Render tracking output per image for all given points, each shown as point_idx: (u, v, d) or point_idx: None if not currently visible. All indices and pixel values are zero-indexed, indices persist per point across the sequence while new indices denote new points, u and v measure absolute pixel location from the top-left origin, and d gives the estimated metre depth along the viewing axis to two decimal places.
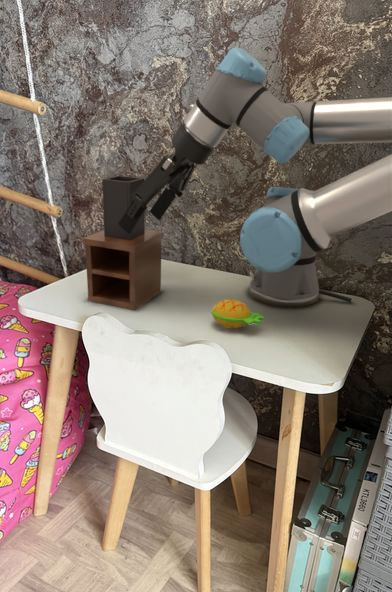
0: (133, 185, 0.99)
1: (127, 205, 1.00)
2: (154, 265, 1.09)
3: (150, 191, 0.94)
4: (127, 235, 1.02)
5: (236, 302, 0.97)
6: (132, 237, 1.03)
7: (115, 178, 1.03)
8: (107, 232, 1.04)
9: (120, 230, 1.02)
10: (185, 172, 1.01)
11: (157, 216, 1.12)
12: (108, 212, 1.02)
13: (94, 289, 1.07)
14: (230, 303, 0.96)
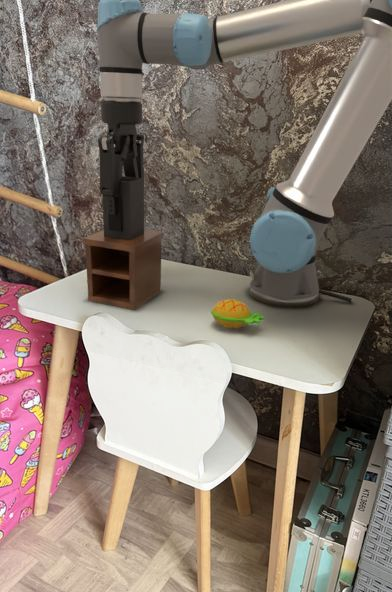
0: (133, 185, 0.99)
1: (126, 205, 1.00)
2: (154, 265, 1.09)
3: (110, 177, 0.95)
4: (127, 235, 1.02)
5: (236, 302, 0.97)
6: (132, 238, 1.03)
7: None
8: (107, 232, 1.04)
9: None
10: (132, 143, 0.98)
11: None
12: None
13: (94, 289, 1.07)
14: (230, 303, 0.96)
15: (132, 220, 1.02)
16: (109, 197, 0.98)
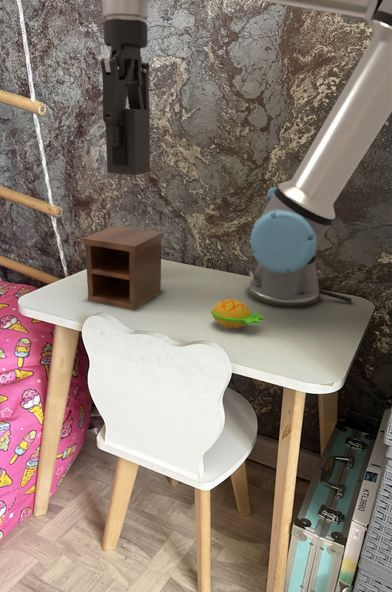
0: (138, 114, 0.93)
1: (131, 136, 0.94)
2: (154, 265, 1.09)
3: (113, 102, 0.89)
4: (131, 170, 0.96)
5: (236, 302, 0.97)
6: (137, 173, 0.97)
7: None
8: (110, 168, 0.98)
9: None
10: (136, 69, 0.92)
11: None
12: (111, 145, 0.96)
13: (94, 289, 1.07)
14: (230, 303, 0.96)
15: (137, 153, 0.96)
16: (113, 126, 0.92)
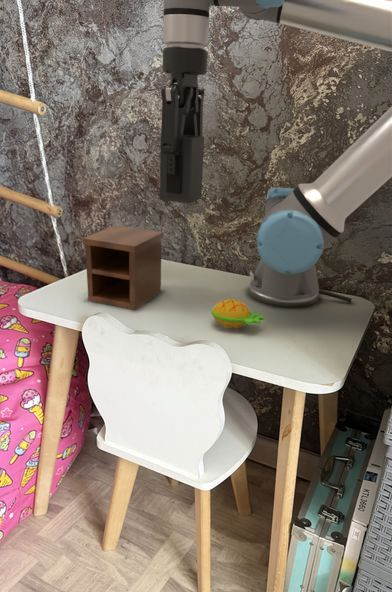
0: (194, 142, 0.91)
1: (187, 164, 0.92)
2: (154, 265, 1.09)
3: (172, 131, 0.87)
4: (186, 198, 0.94)
5: (236, 302, 0.97)
6: (191, 201, 0.95)
7: None
8: (163, 195, 0.96)
9: None
10: (194, 97, 0.91)
11: None
12: (165, 173, 0.94)
13: (94, 289, 1.07)
14: (230, 303, 0.96)
15: (192, 181, 0.94)
16: (169, 155, 0.90)
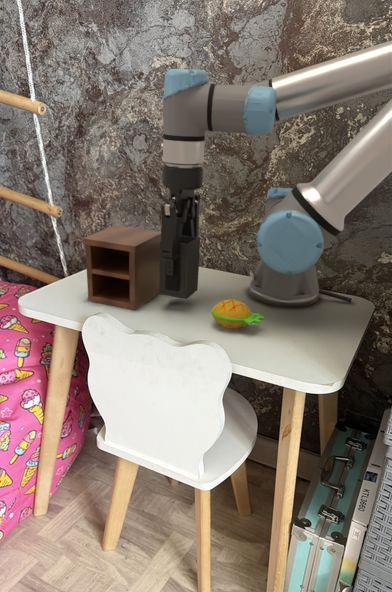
0: (191, 247, 0.99)
1: (184, 266, 1.00)
2: (154, 265, 1.09)
3: (171, 241, 0.95)
4: (183, 294, 1.03)
5: (236, 302, 0.97)
6: (188, 296, 1.03)
7: None
8: (162, 290, 1.04)
9: None
10: (191, 205, 0.99)
11: None
12: (164, 272, 1.02)
13: (94, 289, 1.07)
14: (230, 303, 0.96)
15: (189, 279, 1.02)
16: (168, 259, 0.99)
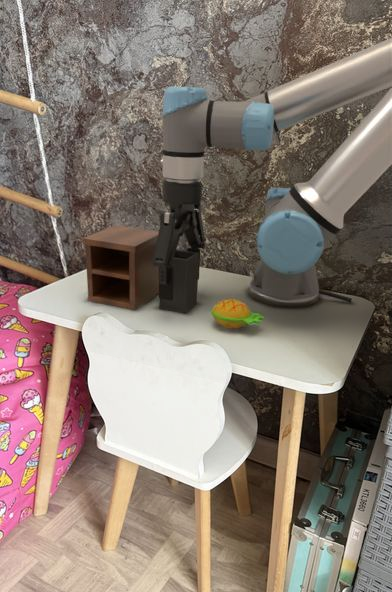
0: (190, 262, 1.01)
1: (183, 281, 1.02)
2: None
3: (166, 249, 0.94)
4: (182, 309, 1.04)
5: (236, 302, 0.97)
6: (187, 311, 1.05)
7: None
8: (162, 305, 1.06)
9: (176, 304, 1.04)
10: (191, 219, 1.00)
11: None
12: None
13: (94, 289, 1.07)
14: (230, 303, 0.96)
15: (188, 294, 1.03)
16: (161, 268, 0.96)
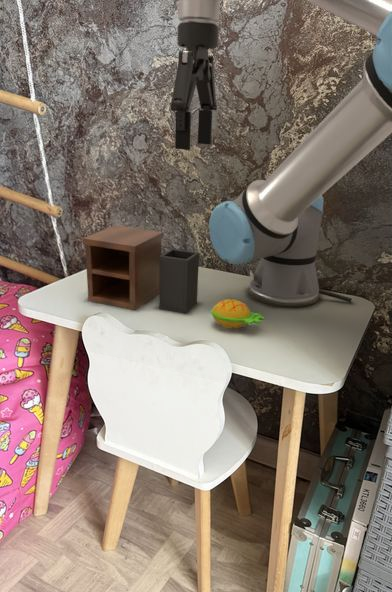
0: (190, 262, 1.01)
1: (183, 281, 1.02)
2: (154, 265, 1.09)
3: (185, 88, 0.93)
4: (182, 309, 1.04)
5: (236, 302, 0.97)
6: (187, 311, 1.05)
7: (170, 252, 1.05)
8: (162, 305, 1.06)
9: (176, 304, 1.04)
10: (206, 69, 1.00)
11: (207, 141, 1.10)
12: (164, 287, 1.04)
13: (94, 289, 1.07)
14: (230, 303, 0.96)
15: (188, 294, 1.03)
16: (179, 111, 0.95)
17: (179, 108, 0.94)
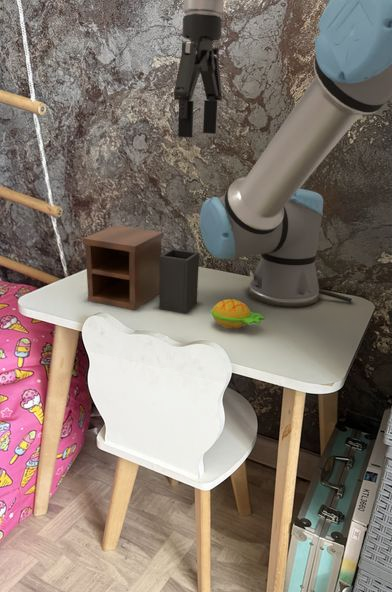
0: (190, 262, 1.01)
1: (183, 281, 1.02)
2: (154, 265, 1.09)
3: (187, 77, 0.97)
4: (182, 309, 1.04)
5: (236, 302, 0.97)
6: (187, 311, 1.05)
7: (170, 252, 1.05)
8: (162, 305, 1.06)
9: (176, 304, 1.04)
10: (210, 60, 1.03)
11: (211, 131, 1.14)
12: (164, 287, 1.04)
13: (94, 289, 1.07)
14: (230, 303, 0.96)
15: (188, 294, 1.03)
16: (182, 100, 0.99)
17: (181, 97, 0.98)
